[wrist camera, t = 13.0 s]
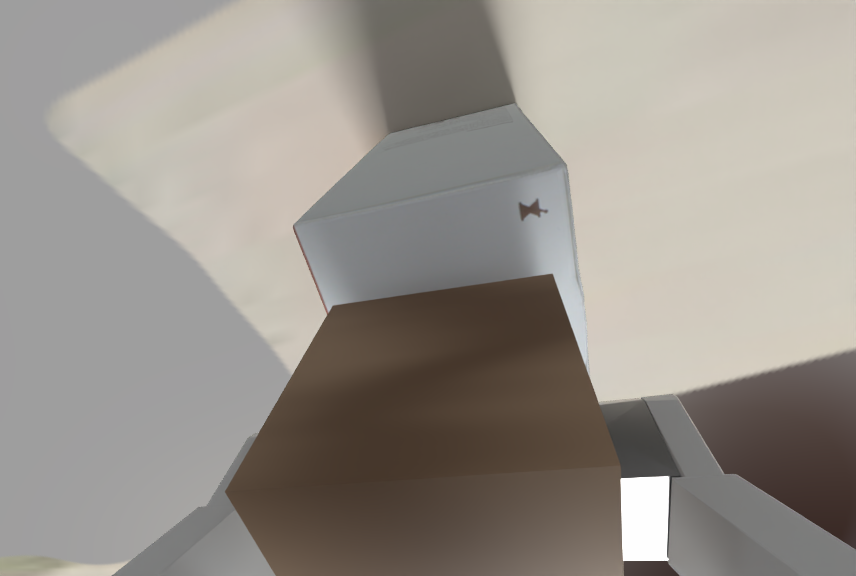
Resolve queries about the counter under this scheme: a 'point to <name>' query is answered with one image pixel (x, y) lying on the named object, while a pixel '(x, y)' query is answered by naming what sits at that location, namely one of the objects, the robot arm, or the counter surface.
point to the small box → (448, 215)
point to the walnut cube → (438, 444)
